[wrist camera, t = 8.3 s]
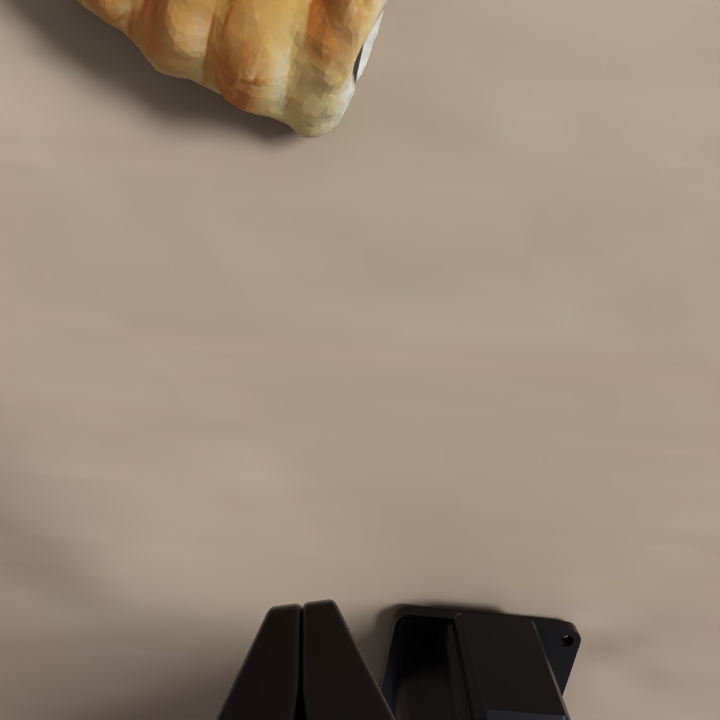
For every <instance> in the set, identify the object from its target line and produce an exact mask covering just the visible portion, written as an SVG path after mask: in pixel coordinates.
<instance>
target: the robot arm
mask: <svg viewBox="0 0 720 720" xmlns="http://www.w3.org/2000/svg"><path fill="white" fill-rule="evenodd" d="M410 620H411V621H414V622H412V623H410V624H406V623H404V622H406V621H410ZM568 635H569V636H568ZM563 636H568V637H566V638H561V637H563ZM580 641H581V638H580V635H579V633H578V631H577V629H576V626H575V625H574V624H572V623H570V622H566V621H556V620H546V619H536V618H525V617H515V616H505V615H494V614H484V613H474V612H463V611H453V610H443V609H433V608H422V607H412V606H409V607H403V608H401V609H399V610H398V611H397V612H396V613H395V616H394V619H393V624H392V629H391V634H390V638H389V643H388V648H387V653H386V658H385V663H384V667H383V672H382V677H381V682H380V687H378V685H377V683H376V681H375V679H374V677H373V675H372V673H371V671H370V669H369V667H368V665H367V663H366V661H365V659H364V657H363V655H362V653H361V651H360V650H359V648H358V646H357V644H356V642H355V640H354V638H353V636H352V634H351V632H350V630H349V628H348V626H347V624H346V622H345V620H344V618H343V616H342V614H341V612H340V610H339V608H338V607H337V605H336V603H335V602H334V601H333V600H321V601H313V602H307V603H305V604H304V606H303V608H302V606H301V605H299V604H289V605H281V606H275V607H272V608H271V609H270V610H269V611H268V612H267V614H266V616H265V618H264V620H263V622H262V624H261V627H260V629H259V631H258V633H257V635H256V637H255V639H254V641H253V643H252V645H251V647H250V650H249V652H248V654H247V656H246V658H245V660H244V662H243V664H242V666H241V668H240V670H239V672H238V675H237V677H236V679H235V681H234V683H233V685H232V687H231V689H230V691H229V693H228V695H227V697H226V700H225V702H224V704H223V706H222V708H221V710H220V712H219V714H218V716H217V718H216V720H570V717H569V714H568V711H567V709H566V706H565V703H564V701H563V698H562V695H563V693H564V690H565V687H566V684H567V681H568V678H569V675H570V672H571V669H572V666H573V663H574V660H575V657H576V654H577V651H578V648H579V645H580Z"/></svg>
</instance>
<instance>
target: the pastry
mask: <svg viewBox="0 0 720 720" xmlns="http://www.w3.org/2000/svg"><path fill="white" fill-rule="evenodd" d="M77 1H78V2H79V3H80V4H81V5H82V6H84V7H85V8H86V9H88V10H89V11H91V12H92V13H94V14H95V15H97V16H98V17H99V18H101V19H102V20H104V21H105V22H107V23H108V24H109V25H111V26H113V27H115V28H116V29H118V30H120V31H122V32H123V33H124V34H125V35H126V36H127V37H128V38H129V39H130V40H131V41H132V42H133V43H134V44H135V45H136V46H137V47H138V49H139V50H140V51H141V52H142V54H143V55H144V56H145V58H146V59H147V60H148V61H149V62H150V64H151V65H152V66H153V67H154V68H155V70H156V71H158V72H161V73H163V74H166V75H169V76H172V77H176V78H185V79H191V80H193V81H194V82H196V83H198V84H200V85H202V86H204V87H206V88H208V89H210V90H212V91H214V92H216V93H218V94H221V95H222V97H223V98H224V99H225V100H226V101H227V102H229V103H230V104H232V105H233V106H235V107H237V108H238V109H241V110H243V111H245V112H249V113H253V114H255V115H260V116H267V117H270V118H273V119H275V120H278V121H281V122H283V123H286V124H288V125H289V126H290V127H291V128H292V129H293V130H294V131H295V132H296V133H297V134H299V135H300V136H302V137H307V138H313V137H319V136H322V135H323V134H325V133H327V132H328V131H330V130H331V129H333V128H335V127H336V126H337V125H338V123H339V122H340V120H341V118H342V116H343V114H344V112H345V110H346V108H347V107H348V105H349V103H350V99H351V97H352V96H353V94H354V92H355V86H356V82H357V81H358V79H359V78H360V76H361V75H362V72H363V70H364V68H365V66H366V63H367V61H368V59H369V55H370V52H371V48H372V44H373V41H374V39H375V37H376V35H377V33H378V28H379V25H380V21H381V18H382V14H383V10H384V7H385V5H386V3H387V2H388V1H389V0H77Z"/></svg>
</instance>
